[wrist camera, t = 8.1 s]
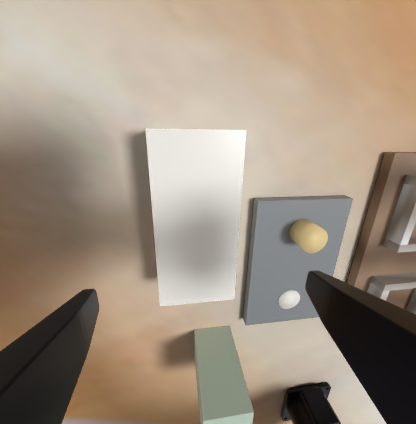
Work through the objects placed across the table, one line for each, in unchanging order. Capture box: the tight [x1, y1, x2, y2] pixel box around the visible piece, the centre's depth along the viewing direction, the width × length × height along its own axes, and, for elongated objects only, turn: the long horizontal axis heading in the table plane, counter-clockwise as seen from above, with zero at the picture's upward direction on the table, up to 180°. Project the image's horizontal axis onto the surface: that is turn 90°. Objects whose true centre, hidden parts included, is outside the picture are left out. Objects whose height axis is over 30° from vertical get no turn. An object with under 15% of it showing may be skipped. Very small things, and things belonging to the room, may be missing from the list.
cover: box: [145, 128, 246, 306], centre depth 17 cm, size 13×6×4 cm, turn 0°
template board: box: [243, 195, 353, 325], centre depth 21 cm, size 14×9×3 cm, turn 0°
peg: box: [194, 326, 254, 424], centre depth 21 cm, size 4×4×8 cm
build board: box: [347, 152, 416, 314], centre depth 23 cm, size 22×11×2 cm, turn 0°
